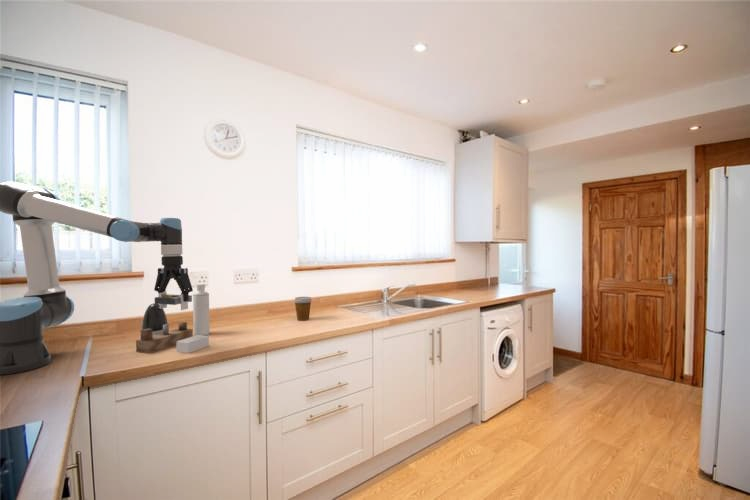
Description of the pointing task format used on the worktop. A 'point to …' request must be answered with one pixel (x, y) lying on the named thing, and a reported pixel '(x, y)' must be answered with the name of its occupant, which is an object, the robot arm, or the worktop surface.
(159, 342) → the plane body
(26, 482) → the worktop surface
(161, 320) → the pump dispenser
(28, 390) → the worktop surface
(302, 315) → the disposable coffee cup
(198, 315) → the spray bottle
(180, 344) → the white rectangular block
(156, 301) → the lever cap
